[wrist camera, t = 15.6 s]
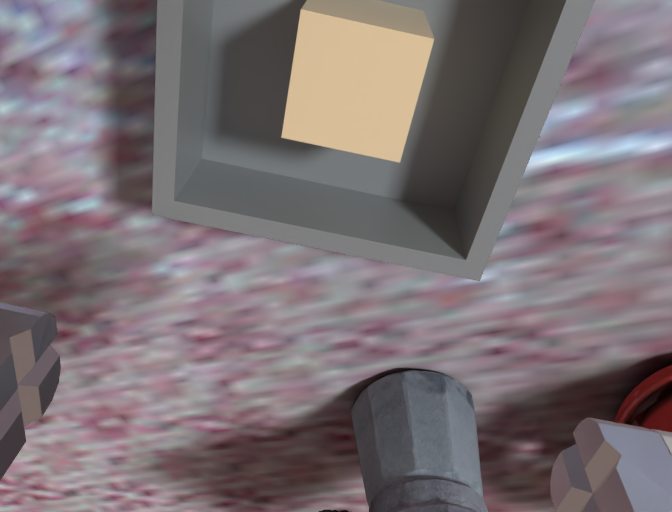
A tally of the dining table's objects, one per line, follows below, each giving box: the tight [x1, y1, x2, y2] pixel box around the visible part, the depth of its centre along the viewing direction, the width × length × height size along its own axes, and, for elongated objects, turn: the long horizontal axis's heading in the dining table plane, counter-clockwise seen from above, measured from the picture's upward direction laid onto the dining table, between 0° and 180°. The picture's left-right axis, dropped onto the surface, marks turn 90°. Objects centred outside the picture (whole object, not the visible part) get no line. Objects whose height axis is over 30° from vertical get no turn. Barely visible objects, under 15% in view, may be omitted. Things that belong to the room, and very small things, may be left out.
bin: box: [152, 0, 595, 281], centre depth 26 cm, size 16×16×6 cm
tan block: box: [281, 0, 434, 163], centre depth 25 cm, size 5×5×6 cm
